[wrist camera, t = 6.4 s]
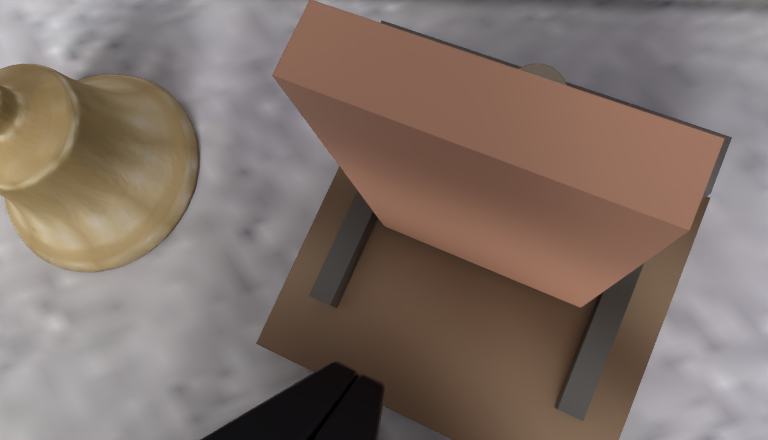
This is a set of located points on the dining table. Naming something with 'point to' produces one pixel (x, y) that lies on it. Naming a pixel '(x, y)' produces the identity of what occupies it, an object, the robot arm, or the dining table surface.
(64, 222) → the hand bell
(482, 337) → the switch base
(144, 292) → the dining table surface
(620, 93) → the dining table surface
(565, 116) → the reddish brown rectangular bar
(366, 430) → the robot arm
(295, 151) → the dining table surface
